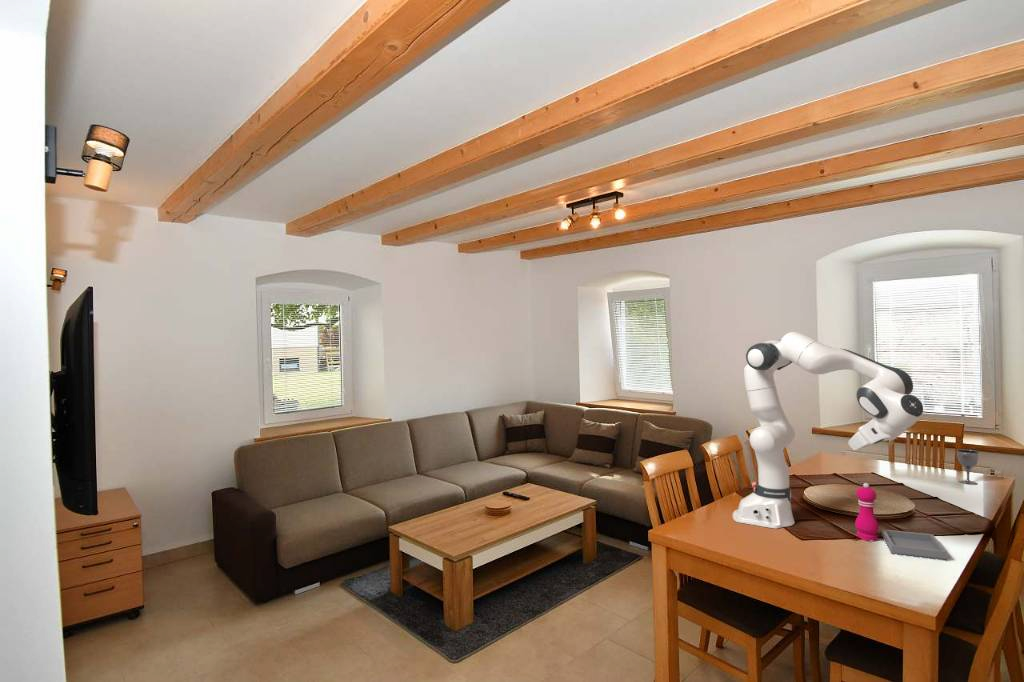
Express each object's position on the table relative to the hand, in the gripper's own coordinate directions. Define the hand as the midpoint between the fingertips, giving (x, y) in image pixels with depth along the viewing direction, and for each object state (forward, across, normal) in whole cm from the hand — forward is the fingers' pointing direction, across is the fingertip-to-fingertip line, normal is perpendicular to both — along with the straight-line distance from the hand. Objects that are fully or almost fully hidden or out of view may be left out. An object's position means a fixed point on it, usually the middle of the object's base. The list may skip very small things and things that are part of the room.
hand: (867, 443), depth 195 cm
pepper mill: (+21, +10, +26) cm, 35 cm away
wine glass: (+73, -82, +21) cm, 112 cm away
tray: (+13, +3, +34) cm, 37 cm away
